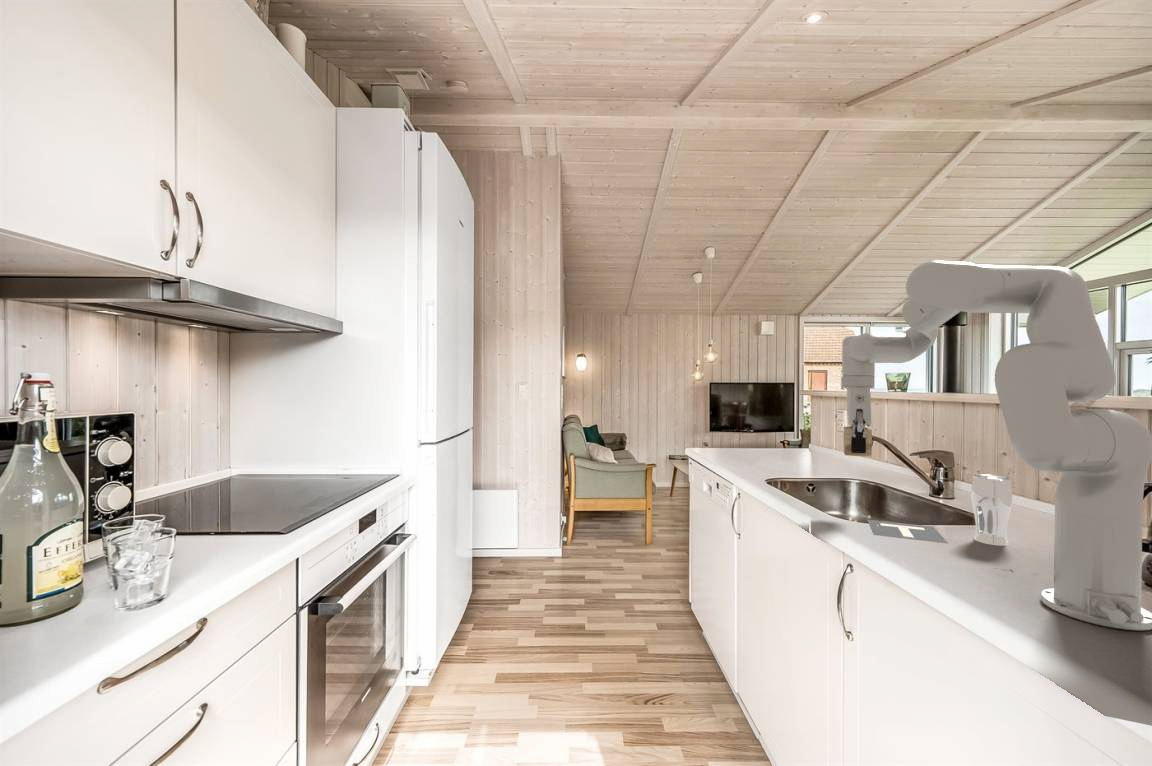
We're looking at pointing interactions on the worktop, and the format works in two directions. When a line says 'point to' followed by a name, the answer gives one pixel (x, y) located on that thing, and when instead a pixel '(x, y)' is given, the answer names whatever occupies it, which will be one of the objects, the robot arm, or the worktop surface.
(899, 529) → the letter mat
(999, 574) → the worktop surface
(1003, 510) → the beer glass
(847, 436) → the oak block
